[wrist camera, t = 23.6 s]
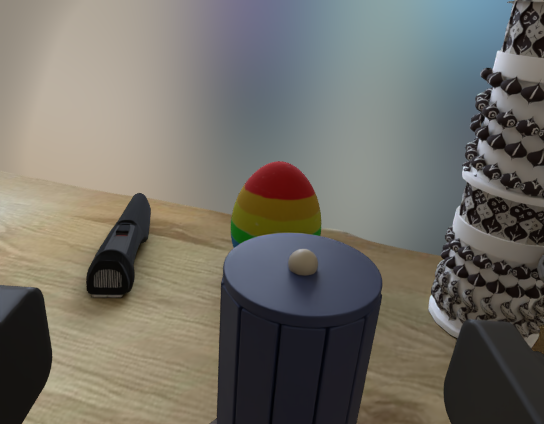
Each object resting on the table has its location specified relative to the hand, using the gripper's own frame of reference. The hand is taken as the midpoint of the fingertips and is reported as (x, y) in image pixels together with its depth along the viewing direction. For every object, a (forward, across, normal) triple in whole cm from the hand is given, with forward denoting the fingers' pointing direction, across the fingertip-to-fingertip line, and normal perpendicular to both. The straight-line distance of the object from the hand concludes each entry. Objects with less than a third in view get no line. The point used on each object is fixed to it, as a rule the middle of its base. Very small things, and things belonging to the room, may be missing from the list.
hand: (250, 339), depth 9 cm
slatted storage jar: (+9, -2, +14) cm, 16 cm away
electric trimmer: (+31, +13, +17) cm, 37 cm away
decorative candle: (+24, -19, +16) cm, 34 cm away
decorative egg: (+30, -1, +17) cm, 35 cm away
